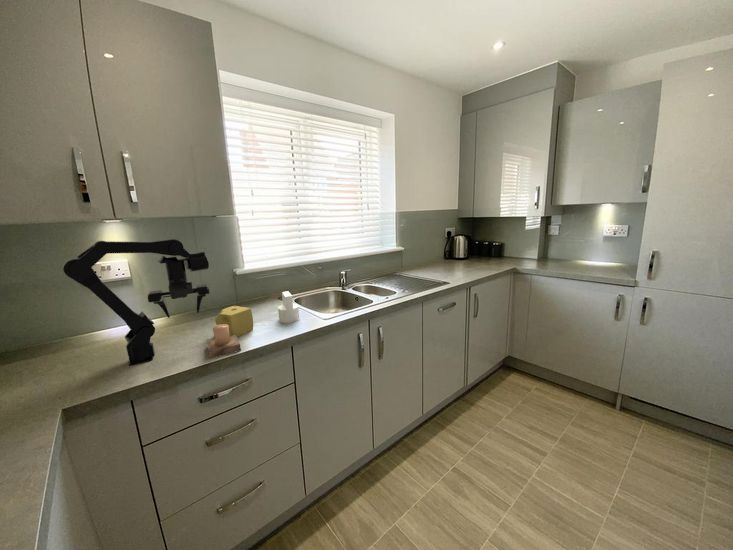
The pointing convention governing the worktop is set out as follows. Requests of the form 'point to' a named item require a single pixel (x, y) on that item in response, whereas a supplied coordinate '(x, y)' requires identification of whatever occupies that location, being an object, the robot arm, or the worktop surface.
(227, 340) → the terracotta cylinder
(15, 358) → the worktop surface
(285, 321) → the base with upright slab
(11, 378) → the worktop surface
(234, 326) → the cheese
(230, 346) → the walnut base
